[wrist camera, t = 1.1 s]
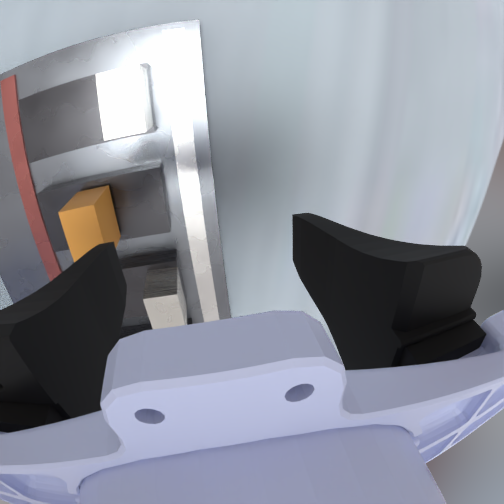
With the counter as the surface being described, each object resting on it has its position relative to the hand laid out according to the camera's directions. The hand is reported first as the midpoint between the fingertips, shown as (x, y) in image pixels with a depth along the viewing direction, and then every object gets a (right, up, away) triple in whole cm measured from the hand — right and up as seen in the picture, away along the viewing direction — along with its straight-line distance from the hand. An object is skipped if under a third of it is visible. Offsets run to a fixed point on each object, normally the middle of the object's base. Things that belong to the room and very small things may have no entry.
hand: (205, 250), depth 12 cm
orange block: (-7, +2, +5) cm, 9 cm away
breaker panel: (-9, +2, +8) cm, 13 cm away
